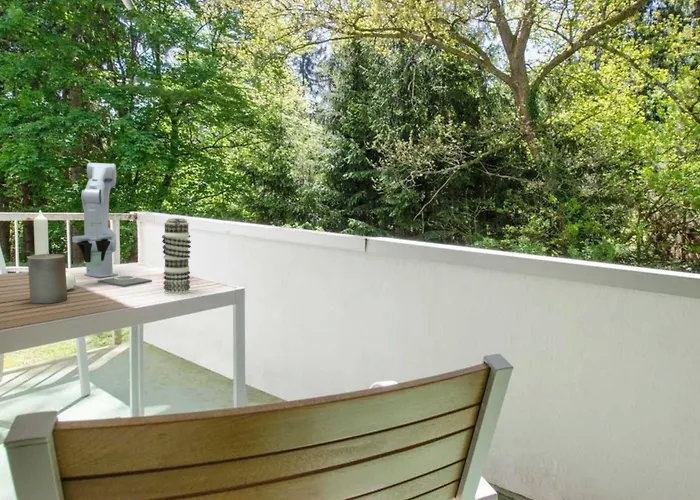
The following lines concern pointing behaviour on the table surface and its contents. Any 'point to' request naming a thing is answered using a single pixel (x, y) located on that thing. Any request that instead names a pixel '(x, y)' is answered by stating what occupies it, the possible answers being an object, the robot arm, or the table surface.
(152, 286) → the table surface
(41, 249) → the candle
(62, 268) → the pillar candle
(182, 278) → the decorative candle
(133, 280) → the socket board
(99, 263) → the cup
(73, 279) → the lightbulb
